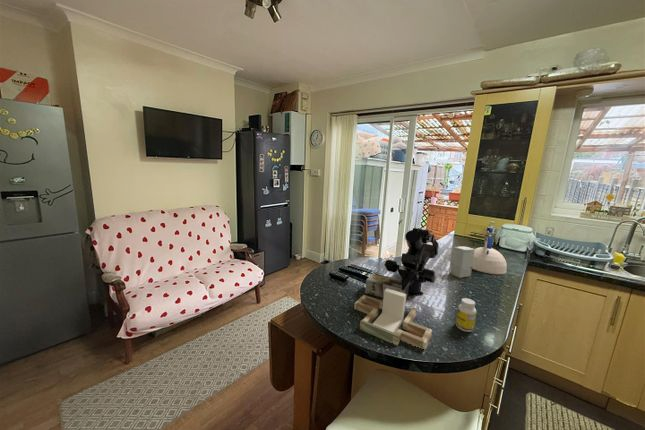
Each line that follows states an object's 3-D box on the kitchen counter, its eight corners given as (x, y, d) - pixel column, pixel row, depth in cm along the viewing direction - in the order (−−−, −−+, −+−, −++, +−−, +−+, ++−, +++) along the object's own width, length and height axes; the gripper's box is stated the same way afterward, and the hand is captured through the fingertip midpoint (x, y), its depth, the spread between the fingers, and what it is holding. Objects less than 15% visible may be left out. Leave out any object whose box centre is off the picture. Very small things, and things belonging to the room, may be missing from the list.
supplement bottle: (452, 322, 89) (456, 296, 88) (466, 322, 90) (470, 296, 88) (461, 332, 84) (466, 305, 82) (477, 332, 85) (481, 305, 83)
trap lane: (366, 297, 104) (367, 290, 104) (437, 322, 89) (438, 314, 89) (340, 321, 87) (341, 313, 87) (422, 356, 72) (423, 347, 72)
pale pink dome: (505, 266, 150) (510, 236, 146) (507, 278, 132) (514, 244, 129) (465, 258, 160) (470, 230, 157) (463, 268, 143) (468, 237, 140)
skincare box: (459, 278, 129) (464, 250, 126) (449, 273, 134) (453, 246, 131) (471, 276, 132) (475, 248, 129) (460, 271, 137) (465, 245, 135)
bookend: (384, 313, 93) (386, 288, 91) (403, 320, 89) (406, 294, 88) (371, 328, 84) (374, 300, 82) (392, 336, 80) (395, 307, 79)
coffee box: (364, 293, 107) (403, 304, 100) (365, 279, 106) (405, 289, 99) (371, 286, 115) (408, 295, 108) (372, 272, 114) (410, 281, 107)
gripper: (388, 240, 103) (375, 274, 96) (437, 250, 93) (426, 289, 86) (393, 253, 111) (381, 286, 104) (439, 264, 101) (429, 301, 94)
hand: (402, 290), depth 97 cm, fingers closed
